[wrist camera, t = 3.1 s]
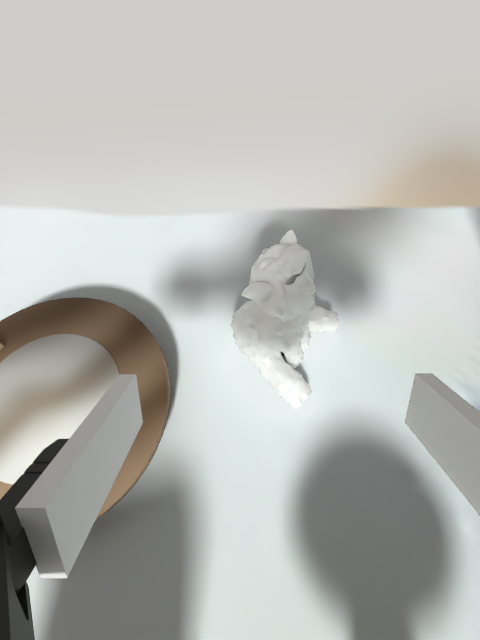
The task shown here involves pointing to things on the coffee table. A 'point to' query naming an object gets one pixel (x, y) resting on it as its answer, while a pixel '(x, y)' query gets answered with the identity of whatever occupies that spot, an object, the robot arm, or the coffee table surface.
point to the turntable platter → (75, 382)
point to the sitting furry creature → (281, 317)
